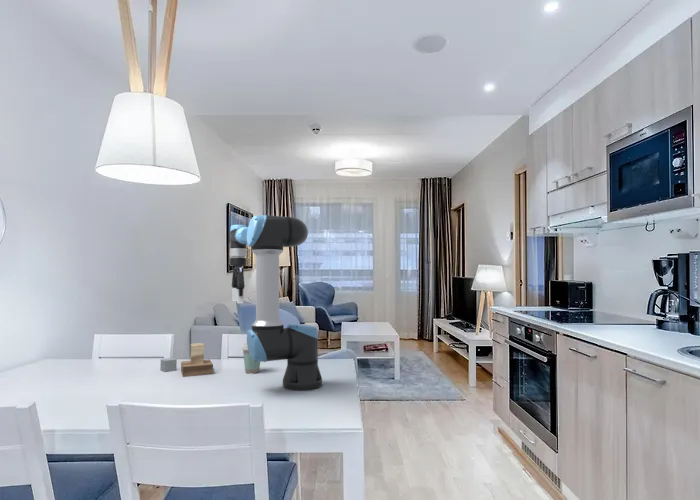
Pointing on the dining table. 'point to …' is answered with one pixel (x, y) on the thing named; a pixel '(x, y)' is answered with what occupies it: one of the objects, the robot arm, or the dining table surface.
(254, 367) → the coffee cup
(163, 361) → the slate grey block
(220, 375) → the dining table surface
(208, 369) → the walnut base slab
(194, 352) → the oak column block
